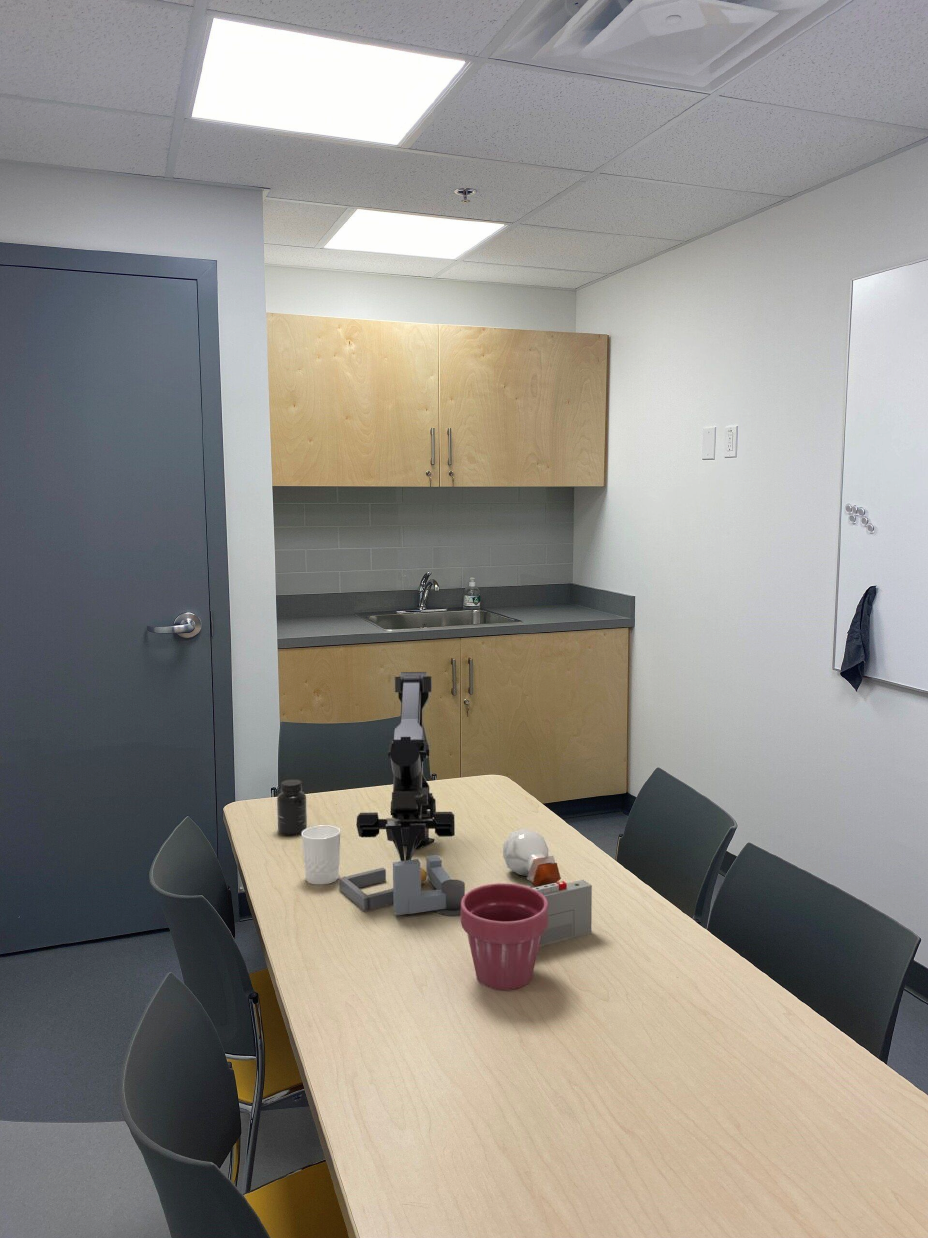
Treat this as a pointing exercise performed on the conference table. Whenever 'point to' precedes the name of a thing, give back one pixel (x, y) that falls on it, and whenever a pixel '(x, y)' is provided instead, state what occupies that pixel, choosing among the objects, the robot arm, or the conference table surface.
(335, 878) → the white cup
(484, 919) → the plant pot
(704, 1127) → the conference table surface
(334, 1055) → the conference table surface
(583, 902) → the cassette player
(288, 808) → the supplement bottle
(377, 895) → the pocket
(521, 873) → the potion bottle
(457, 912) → the pivot plate
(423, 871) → the ball
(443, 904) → the lever
